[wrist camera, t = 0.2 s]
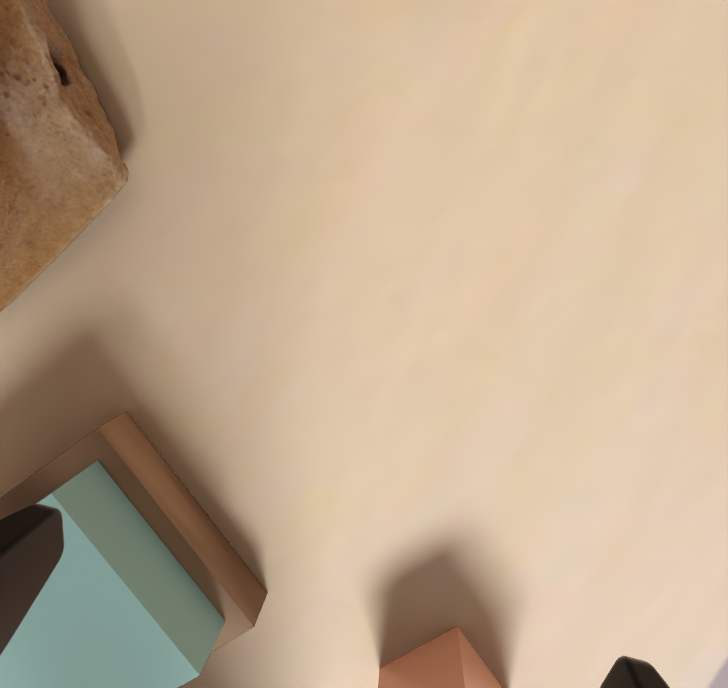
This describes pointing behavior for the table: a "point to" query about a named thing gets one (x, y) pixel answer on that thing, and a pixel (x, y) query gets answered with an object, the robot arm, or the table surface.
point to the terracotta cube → (439, 666)
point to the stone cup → (47, 146)
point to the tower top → (110, 602)
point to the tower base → (157, 516)
